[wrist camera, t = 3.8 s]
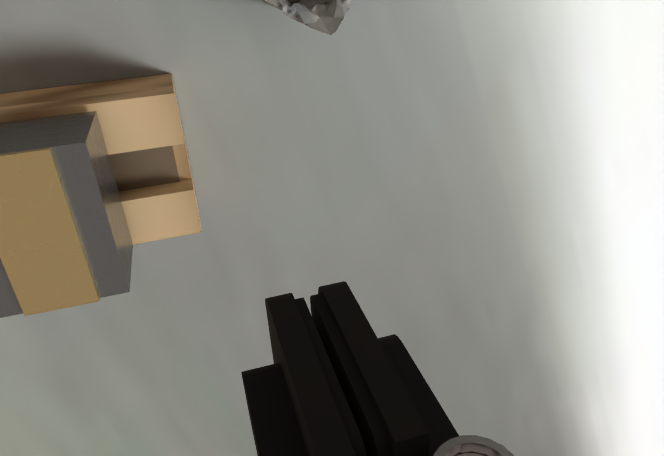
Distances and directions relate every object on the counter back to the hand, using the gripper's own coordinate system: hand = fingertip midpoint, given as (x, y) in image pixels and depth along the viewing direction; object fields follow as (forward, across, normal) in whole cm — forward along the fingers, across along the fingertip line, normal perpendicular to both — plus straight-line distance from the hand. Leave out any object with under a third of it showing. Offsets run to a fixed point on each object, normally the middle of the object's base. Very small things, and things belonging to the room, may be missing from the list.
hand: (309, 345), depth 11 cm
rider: (+14, +7, +1) cm, 15 cm away
